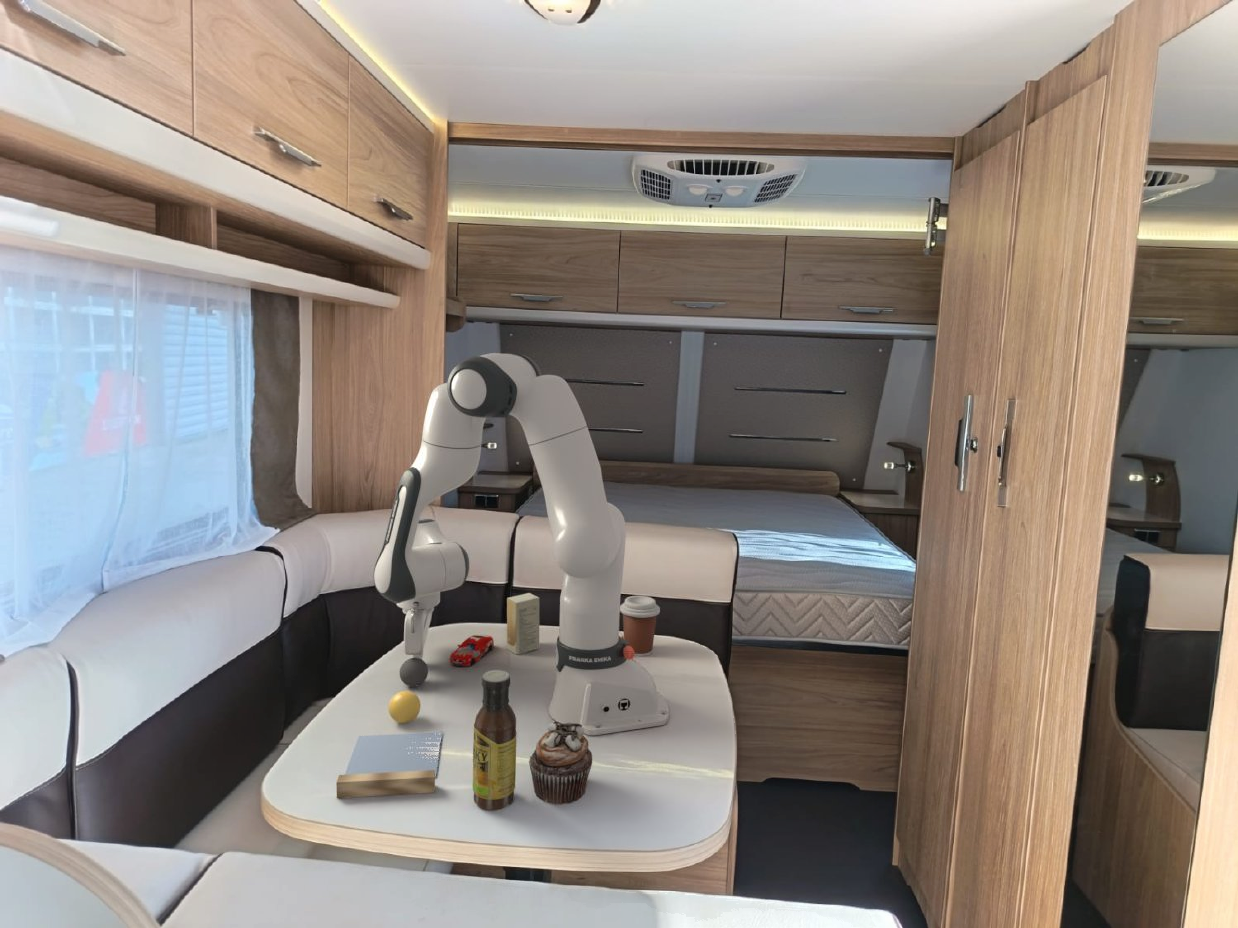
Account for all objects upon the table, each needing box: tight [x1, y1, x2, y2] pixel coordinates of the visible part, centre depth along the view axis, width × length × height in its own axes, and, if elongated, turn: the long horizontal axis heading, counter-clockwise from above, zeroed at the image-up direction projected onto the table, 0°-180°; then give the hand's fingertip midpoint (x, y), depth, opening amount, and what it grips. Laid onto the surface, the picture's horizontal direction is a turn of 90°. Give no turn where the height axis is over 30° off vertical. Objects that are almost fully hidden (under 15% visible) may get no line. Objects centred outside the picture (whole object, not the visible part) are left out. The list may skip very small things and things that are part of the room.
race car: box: [449, 634, 495, 667], centre depth 164 cm, size 13×5×4 cm, turn 160°
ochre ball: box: [388, 690, 422, 724], centre depth 134 cm, size 6×6×6 cm
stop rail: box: [336, 770, 436, 799], centre depth 113 cm, size 14×2×2 cm, turn 99°
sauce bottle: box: [472, 669, 517, 811], centre depth 110 cm, size 6×6×20 cm
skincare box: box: [506, 592, 540, 656], centre depth 168 cm, size 6×4×12 cm
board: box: [344, 731, 444, 779], centre depth 123 cm, size 14×14×1 cm
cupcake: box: [528, 720, 593, 805], centre depth 115 cm, size 10×10×10 cm
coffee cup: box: [620, 595, 661, 658], centre depth 170 cm, size 9×9×12 cm
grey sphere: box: [399, 657, 429, 687], centre depth 149 cm, size 6×6×6 cm
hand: (418, 658), depth 158 cm, fingers closed
